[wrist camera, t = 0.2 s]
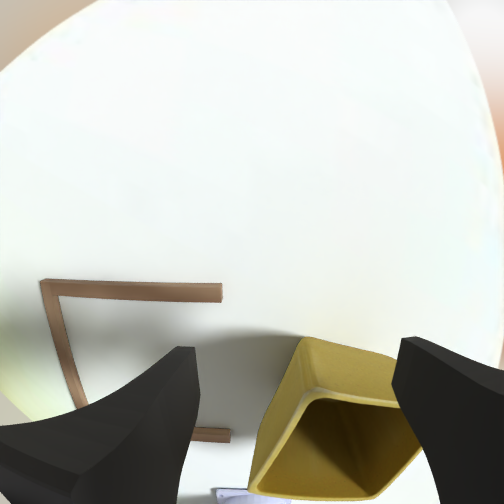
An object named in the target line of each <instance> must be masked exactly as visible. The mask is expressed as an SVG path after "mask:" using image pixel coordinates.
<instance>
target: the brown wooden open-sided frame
mask: <svg viewBox="0 0 504 504" xmlns="http://www.w3.org/2000/svg"><path fill="white" fill-rule="evenodd" d="M40 284H41V290H42V295H43V300H44V304H45V309H46V313H47V317H48V321H49V325H50V329H51V333H52V337H53V340H54V344H55V347H56V351H57V354H58V357H59V361H60V364H61V367H62V370H63V373H64V376H65V379H66V382H67V384H68V387H69V390H70V392H71V395H72V398H73V400H74V403H75V405H76V408H77V409H79V408H82V407H84V406H87V405H89V404H88V402H87V399H86V396H85V393H84V391H83V388H82V385H81V382H80V379H79V376H78V373H77V369H76V366H75V363H74V360H73V356H72V353H71V349H70V346H69V342H68V338H67V334H66V330H65V326H64V322H63V318H62V313H61V309H60V304H59V299H58V295H59V296H72V297H86V298H101V299H119V300H141V301H168V302H214V303H221V302H222V298H223V297H222V283H158V282H118V281H89V280H66V279H44V280H42V281H40ZM230 438H231V435H230V429H216V428H199V427H194V430H193V434H192V437H191V441H202V442H218V443H230Z"/></svg>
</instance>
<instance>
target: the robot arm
mask: <svg viewBox="0 0 504 504" xmlns="http://www.w3.org/2000/svg"><path fill="white" fill-rule="evenodd" d="M391 385H392V388H393V391H394V394H395V397H396V399H397V402H398V404H399V406H400V408H401V410H402V412H403V414H404V416H405V418H406V419H407V421H408V423H409V425H410V427H411V428H412V430H413V432H414V434H415V436H416V437H417V439H418V441H419V443H420V445H421V447H422V449H423V451H424V453H425V455H426V457H427V460H428V463H429V466H430V468H431V471H432V474H433V477H434V481H435V484H436V488H437V491H438V495H439V500H440V504H504V371H503V370H499V369H496V368H493V367H490V366H487V365H484V364H481V363H479V362H476V361H474V360H471V359H469V358H466V357H464V356H462V355H459V354H457V353H455V352H453V351H450V350H448V349H446V348H444V347H442V346H439V345H437V344H435V343H433V342H430V341H428V340H425V339H423V338H420V337H416V336H415V337H407V338H402V339H401V344H400V349H399V353H398V358H397V362H396V366H395V370H394V374H393V378H392V382H391ZM199 401H200V387H199V380H198V372H197V363H196V355H195V347H180V346H177V347H175V348H174V349H173V350H171V351H170V352H169V353H168V354H166V355H165V356H164V357H163V358H162V359H160V360H159V361H158V362H157V363H155V364H154V365H153V366H151V367H150V368H149V369H148V370H146V371H145V372H144V373H142V374H141V375H139V376H138V377H137V378H135V379H134V380H132V381H131V382H129V383H128V384H126V385H125V386H123V387H122V388H120V389H119V390H117V391H115V392H113V393H112V394H110V395H108V396H106V397H104V398H102V399H100V400H98V401H96V402H94V403H92V404H89V405H87V406H84V407H82V408H79V409H77V410H74V411H72V412H69V413H66V414H63V415H59V416H56V417H52V418H48V419H44V420H40V421H35V422H30V423H22V424H15V425H6V426H0V492H1V493H2V494H3V495H4V496H5V497H6V499H7V500H8V501H9V502H10V503H11V504H176V501H177V494H178V488H179V481H180V476H181V472H182V468H183V464H184V461H185V457H186V454H187V451H188V447H189V444H190V441H191V437H192V434H193V430H194V427H195V423H196V420H197V415H198V408H199ZM216 496H217V502H218V504H291V500H292V499H283V498H275V497H268V496H262V495H257V494H253V493H249V492H248V491H247V490H232V489H217V490H216Z"/></svg>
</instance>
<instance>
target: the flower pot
mask: <svg viewBox="0 0 504 504" xmlns="http://www.w3.org/2000/svg"><path fill="white" fill-rule="evenodd" d="M396 362H397V360H396V359H393V358H391V357H389V356H386V355H383V354H379V353H375V352H371V351H366V350H361V349H357V348H353V347H349V346H345V345H340V344H336V343H332V342H328V341H325V340H321V339H317V338H313V337H304V338H303V339H301V340H300V342H299V343H298V345H297V347H296V350H295V352H294V354H293V357H292V359H291V361H290V363H289V366H288V368H287V370H286V372H285V375H284V377H283V379H282V381H281V383H280V385H279V387H278V389H277V391H276V393H275V395H274V397H273V399H272V401H271V403H270V405H269V407H268V409H267V411H266V413H265V415H264V417H263V420H262V422H261V425H260V428H259V431H258V435H257V439H256V445H255V450H254V455H253V460H252V466H251V471H250V477H249V482H248V487H247V491H248V492H249V493H253V494H257V495H262V496H268V497H275V498H283V499H294V500H309V501H363V500H371V499H375V498H376V497H378V496H379V495H380V494H381V493H382V492H383V491H384V490H386V489H387V488H388V487H389V486H390V485H391V484H392V482H393V481H394V480H395V479H396V478H397V477H398V476H399V475H400V474H401V473H402V472H403V471H404V470H405V469H406V468H407V466H408V465H409V464H410V463H411V462H412V461H413V460H414V459H415V457H416V456H417V455H418V454H419V453H420V452H421V451H422V447H421V445H420V443H419V441H418V439H417V437H416V436H415V434H414V432H413V430H412V428H411V427H410V425H409V423H408V421H407V419H406V418H405V416H404V414H403V412H402V410H401V408H400V406H399V404H398V402H397V399H396V397H395V394H394V391H393V388H392V385H391V382H392V378H393V374H394V370H395V366H396Z"/></svg>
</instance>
